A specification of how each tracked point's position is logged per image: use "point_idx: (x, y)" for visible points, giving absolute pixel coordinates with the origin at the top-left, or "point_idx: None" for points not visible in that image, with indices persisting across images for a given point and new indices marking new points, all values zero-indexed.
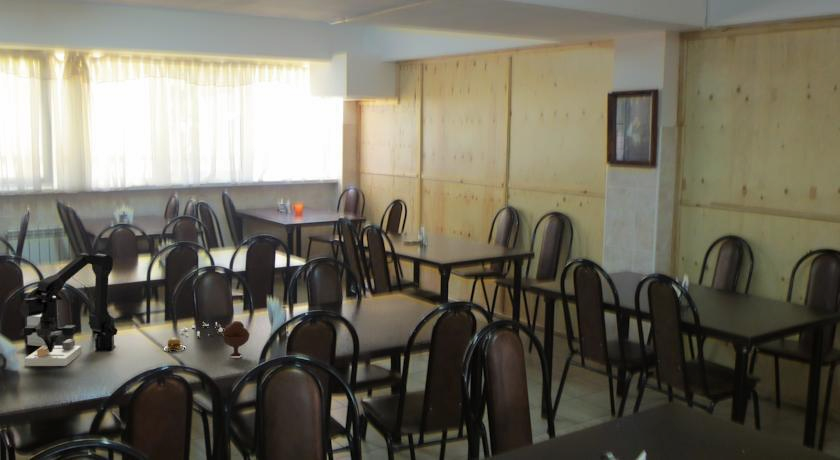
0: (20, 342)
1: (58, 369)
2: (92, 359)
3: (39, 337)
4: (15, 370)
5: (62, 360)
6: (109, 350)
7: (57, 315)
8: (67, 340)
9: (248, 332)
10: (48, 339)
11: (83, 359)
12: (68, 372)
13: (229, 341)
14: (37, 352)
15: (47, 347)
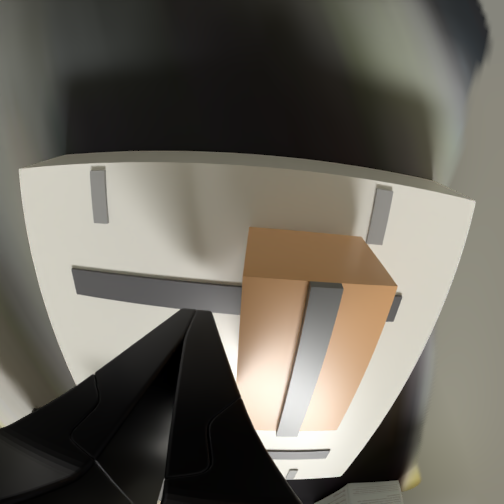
0: (414, 484)
1: (89, 49)
2: (7, 305)
3: None
4: (464, 57)
5: (54, 162)
6: (36, 409)
7: None
8: (160, 493)
9: None
10: (172, 502)
11: (42, 315)
12: (21, 7)
13: None
14: (375, 261)
15: (222, 352)
